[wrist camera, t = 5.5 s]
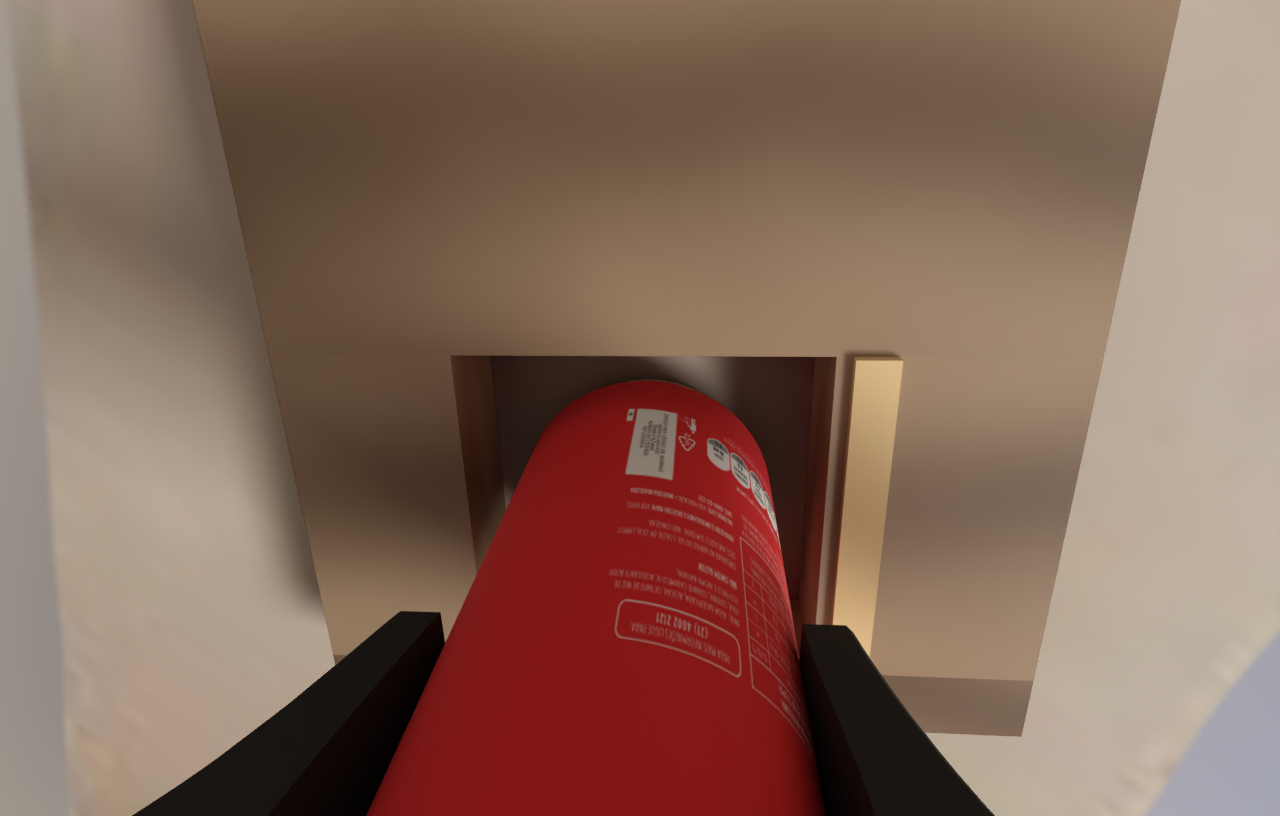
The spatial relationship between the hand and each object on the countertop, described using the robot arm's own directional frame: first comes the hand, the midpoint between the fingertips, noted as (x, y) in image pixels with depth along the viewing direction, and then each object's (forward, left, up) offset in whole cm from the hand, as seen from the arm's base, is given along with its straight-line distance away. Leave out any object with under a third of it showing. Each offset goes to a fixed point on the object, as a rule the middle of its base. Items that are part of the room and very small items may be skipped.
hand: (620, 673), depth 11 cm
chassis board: (+3, -1, -7) cm, 7 cm away
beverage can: (0, 0, -7) cm, 7 cm away
